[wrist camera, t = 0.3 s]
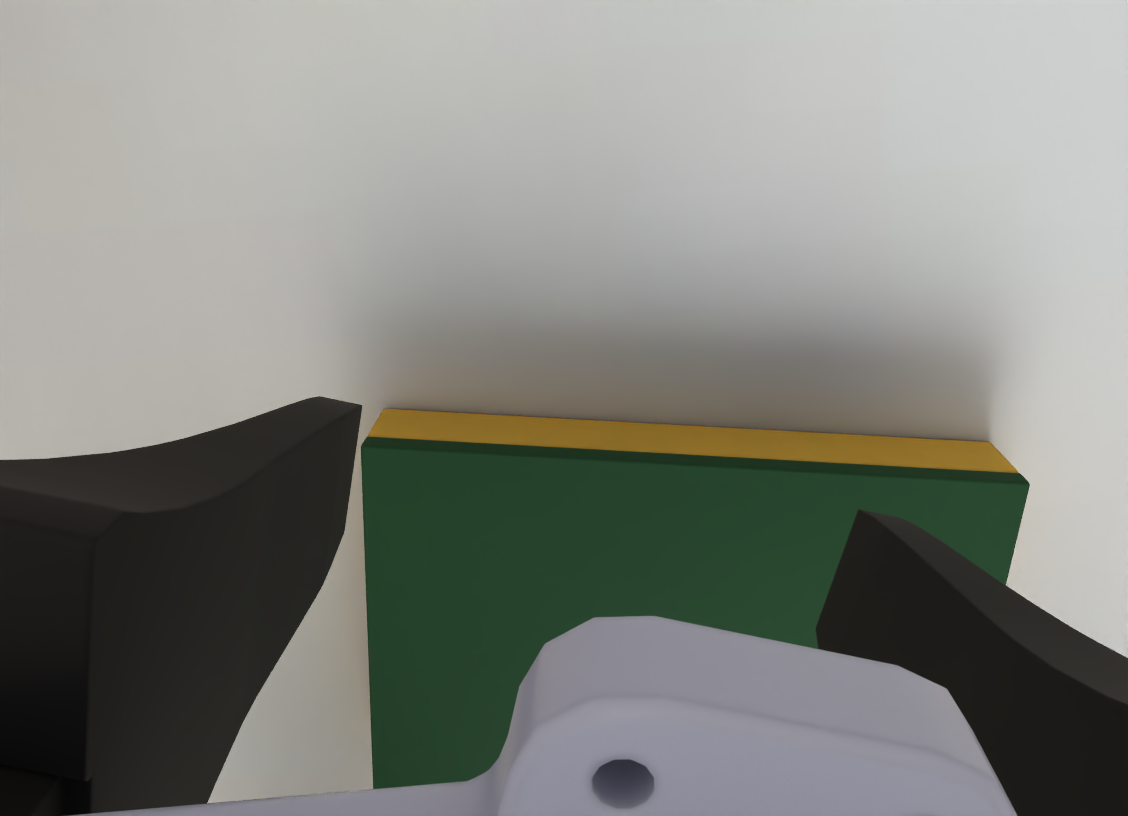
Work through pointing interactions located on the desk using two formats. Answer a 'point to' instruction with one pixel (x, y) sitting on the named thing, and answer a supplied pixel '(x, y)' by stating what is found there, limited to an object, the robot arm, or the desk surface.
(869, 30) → the desk surface
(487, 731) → the sponge
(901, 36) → the desk surface
